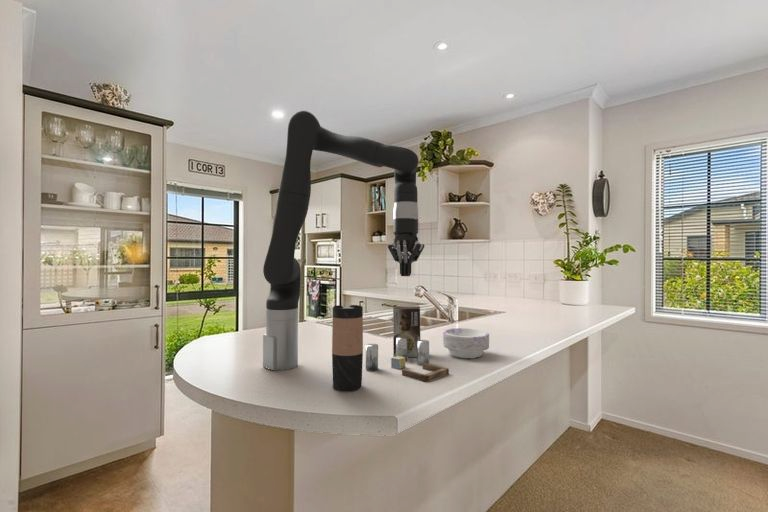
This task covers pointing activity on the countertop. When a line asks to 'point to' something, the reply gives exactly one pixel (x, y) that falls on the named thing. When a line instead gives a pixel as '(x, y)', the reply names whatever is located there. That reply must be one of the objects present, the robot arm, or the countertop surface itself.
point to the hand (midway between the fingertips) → (405, 276)
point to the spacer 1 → (371, 357)
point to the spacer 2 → (401, 347)
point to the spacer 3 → (422, 352)
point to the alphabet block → (398, 362)
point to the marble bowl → (465, 342)
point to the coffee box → (406, 327)
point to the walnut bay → (427, 377)
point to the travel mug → (347, 347)
